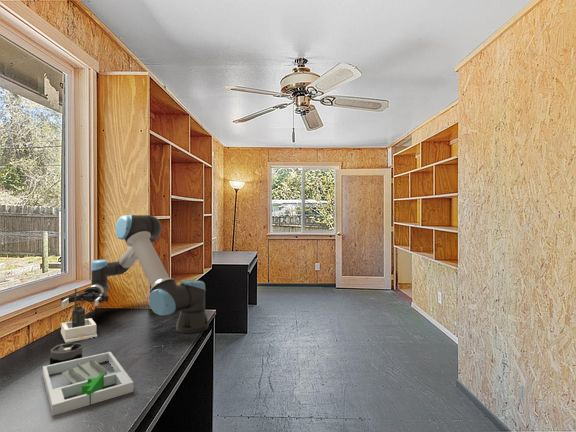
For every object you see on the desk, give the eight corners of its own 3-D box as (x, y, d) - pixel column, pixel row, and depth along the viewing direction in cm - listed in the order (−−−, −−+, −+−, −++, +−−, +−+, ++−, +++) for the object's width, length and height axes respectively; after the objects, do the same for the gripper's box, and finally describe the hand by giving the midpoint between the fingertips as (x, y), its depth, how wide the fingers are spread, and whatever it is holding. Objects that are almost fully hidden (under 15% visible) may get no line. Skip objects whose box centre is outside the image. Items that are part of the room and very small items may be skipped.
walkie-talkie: (78, 334, 154) (78, 289, 154) (71, 333, 155) (71, 288, 155) (85, 330, 159) (86, 287, 159) (79, 330, 159) (79, 286, 159)
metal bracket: (54, 369, 111) (98, 352, 124) (51, 385, 112) (95, 367, 125) (81, 392, 105) (124, 372, 118) (77, 409, 105) (121, 387, 119)
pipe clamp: (91, 387, 110) (92, 373, 110) (103, 386, 111) (103, 373, 111) (77, 405, 100) (77, 390, 100) (90, 404, 101) (90, 390, 100)
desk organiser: (133, 391, 108) (133, 382, 108) (52, 415, 95) (52, 405, 95) (110, 359, 131) (110, 351, 131) (42, 375, 118) (42, 366, 118)
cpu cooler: (80, 350, 126) (47, 354, 122) (80, 365, 126) (47, 370, 122) (84, 340, 135) (53, 344, 131) (84, 355, 136) (53, 359, 131)
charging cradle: (97, 337, 154) (97, 325, 154) (65, 343, 147) (65, 331, 147) (90, 327, 167) (90, 317, 167) (60, 332, 159) (60, 321, 159)
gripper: (119, 299, 181) (109, 310, 161) (66, 301, 175) (48, 313, 155) (120, 285, 181) (109, 294, 161) (66, 286, 175) (48, 296, 155)
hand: (79, 304), depth 158 cm, fingers open, 13 cm apart
